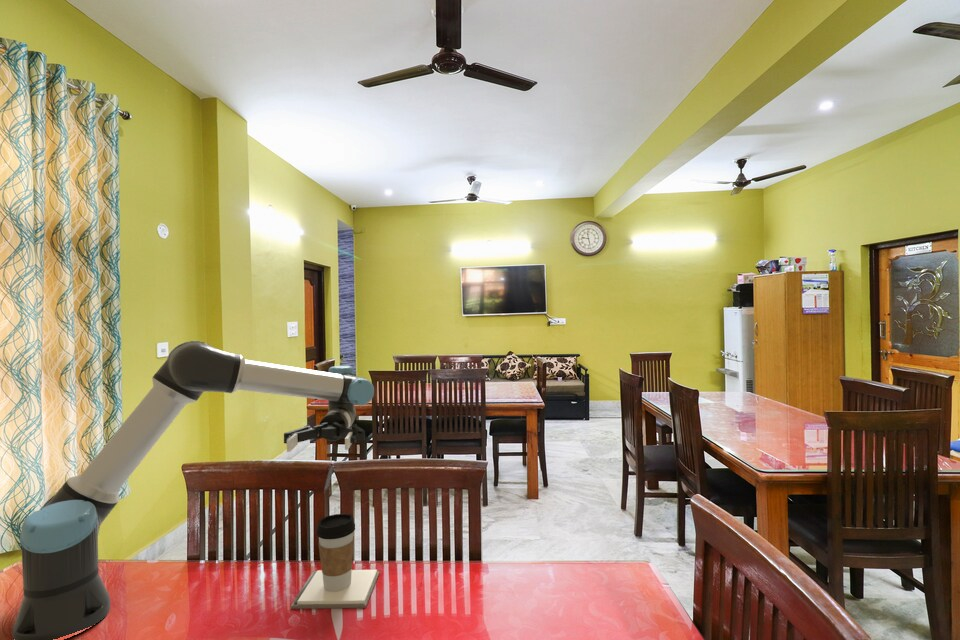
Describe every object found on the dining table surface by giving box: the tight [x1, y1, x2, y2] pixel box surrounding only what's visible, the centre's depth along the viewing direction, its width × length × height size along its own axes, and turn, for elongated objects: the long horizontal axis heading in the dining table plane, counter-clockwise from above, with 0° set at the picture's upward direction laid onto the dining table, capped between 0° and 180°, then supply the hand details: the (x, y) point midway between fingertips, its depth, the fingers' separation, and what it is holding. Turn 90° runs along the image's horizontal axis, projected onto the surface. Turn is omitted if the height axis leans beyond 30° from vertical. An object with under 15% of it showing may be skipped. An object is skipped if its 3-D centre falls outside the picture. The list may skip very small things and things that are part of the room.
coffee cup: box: [316, 513, 356, 592], centre depth 107 cm, size 8×8×15 cm
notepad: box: [290, 569, 380, 610], centre depth 107 cm, size 16×13×1 cm
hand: (317, 445), depth 114 cm, fingers open, 13 cm apart
